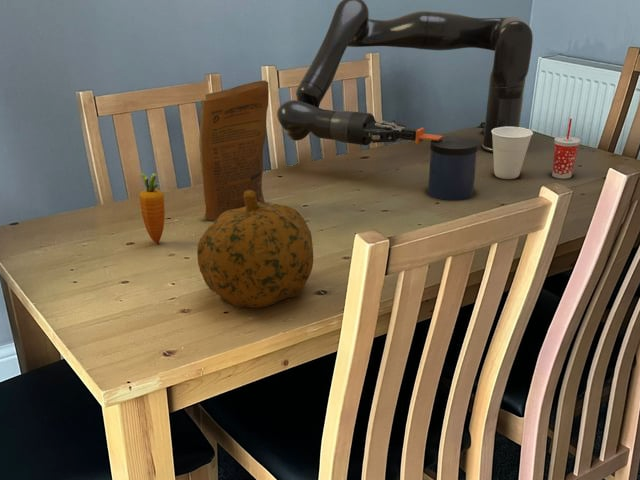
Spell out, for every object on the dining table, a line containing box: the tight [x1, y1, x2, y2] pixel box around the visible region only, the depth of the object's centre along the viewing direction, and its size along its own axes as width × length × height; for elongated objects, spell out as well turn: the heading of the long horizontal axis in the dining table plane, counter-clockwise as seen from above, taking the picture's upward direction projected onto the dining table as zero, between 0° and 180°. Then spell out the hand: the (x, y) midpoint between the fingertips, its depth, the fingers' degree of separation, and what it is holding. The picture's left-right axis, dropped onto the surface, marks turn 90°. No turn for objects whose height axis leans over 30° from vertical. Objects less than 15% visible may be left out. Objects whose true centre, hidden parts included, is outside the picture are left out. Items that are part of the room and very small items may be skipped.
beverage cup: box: [551, 118, 581, 180], centre depth 195 cm, size 6×6×14 cm
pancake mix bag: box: [198, 79, 270, 221], centre depth 173 cm, size 7×19×28 cm, turn 127°
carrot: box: [139, 173, 166, 245], centre depth 162 cm, size 5×5×15 cm
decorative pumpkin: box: [196, 190, 314, 309], centre depth 139 cm, size 20×21×20 cm
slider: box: [414, 127, 444, 145], centre depth 185 cm, size 6×3×3 cm, turn 60°
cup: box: [491, 126, 534, 180], centre depth 196 cm, size 10×10×11 cm
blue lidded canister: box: [427, 135, 480, 201], centre depth 186 cm, size 11×11×12 cm
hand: (418, 135), depth 187 cm, fingers closed
